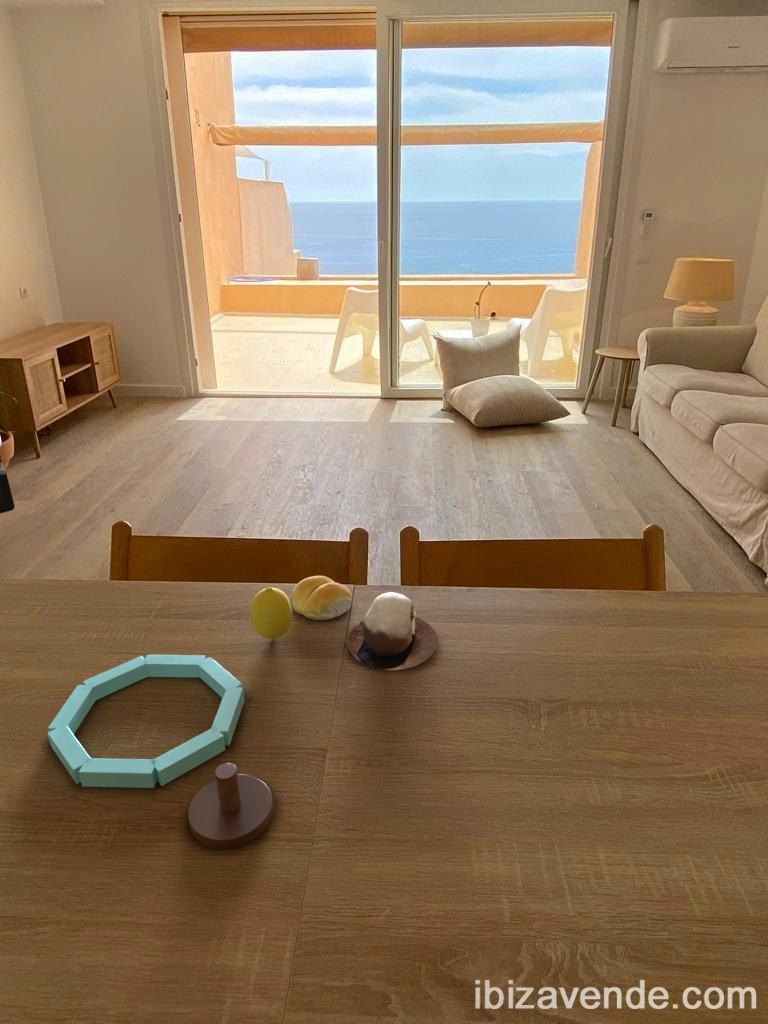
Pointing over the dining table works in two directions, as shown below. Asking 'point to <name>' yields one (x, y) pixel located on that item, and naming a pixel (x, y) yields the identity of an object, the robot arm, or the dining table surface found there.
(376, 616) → the iced cupcake on saucer
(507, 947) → the dining table surface
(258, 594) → the lemon
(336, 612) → the bread roll
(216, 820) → the post
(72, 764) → the ring
